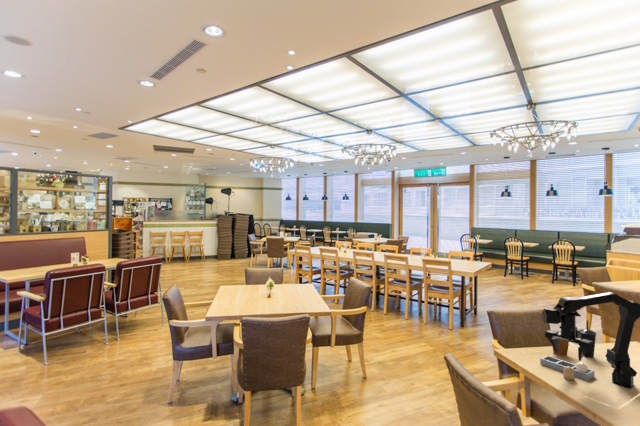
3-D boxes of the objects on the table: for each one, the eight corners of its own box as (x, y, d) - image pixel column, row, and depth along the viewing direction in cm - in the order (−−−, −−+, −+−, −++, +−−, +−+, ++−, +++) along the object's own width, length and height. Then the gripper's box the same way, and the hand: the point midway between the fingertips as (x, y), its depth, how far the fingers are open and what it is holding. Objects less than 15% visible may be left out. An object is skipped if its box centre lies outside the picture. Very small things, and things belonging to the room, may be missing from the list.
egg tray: (594, 378, 157) (594, 370, 157) (587, 381, 153) (587, 374, 153) (547, 362, 175) (547, 355, 175) (540, 365, 171) (540, 358, 171)
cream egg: (589, 376, 158) (588, 363, 158) (585, 378, 156) (584, 365, 156) (578, 372, 161) (578, 360, 161) (574, 374, 159) (574, 361, 159)
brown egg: (576, 380, 155) (576, 367, 155) (572, 382, 153) (571, 369, 153) (566, 377, 158) (565, 364, 158) (561, 379, 156) (561, 365, 156)
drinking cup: (583, 358, 180) (582, 321, 181) (576, 352, 187) (576, 317, 188) (599, 359, 178) (599, 323, 178) (592, 354, 185) (592, 319, 186)
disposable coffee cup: (570, 359, 178) (570, 337, 179) (549, 355, 184) (549, 333, 184) (570, 353, 186) (570, 332, 186) (550, 349, 192) (549, 329, 192)
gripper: (599, 327, 152) (600, 360, 152) (555, 317, 168) (555, 347, 168) (588, 331, 147) (589, 366, 146) (543, 320, 163) (544, 351, 162)
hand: (568, 357), depth 156 cm, fingers open, 9 cm apart
